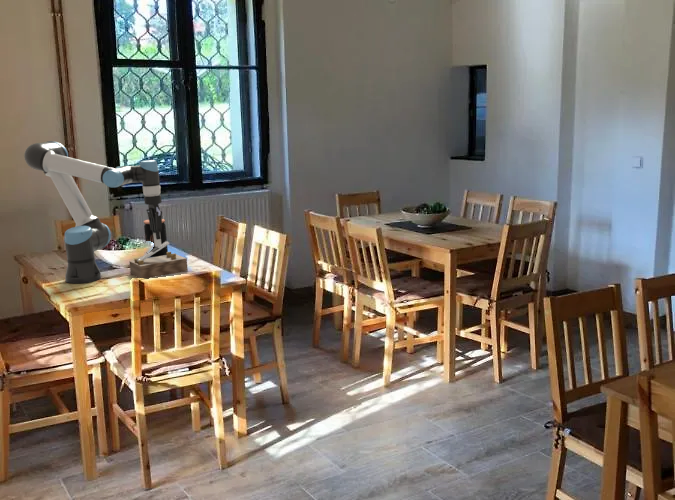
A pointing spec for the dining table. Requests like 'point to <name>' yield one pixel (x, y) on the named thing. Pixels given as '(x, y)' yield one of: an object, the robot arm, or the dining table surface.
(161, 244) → the strap
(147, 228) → the coffee jar
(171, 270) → the walnut box
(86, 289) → the dining table surface
